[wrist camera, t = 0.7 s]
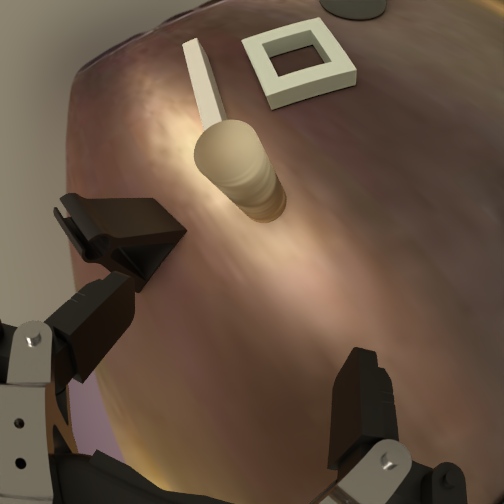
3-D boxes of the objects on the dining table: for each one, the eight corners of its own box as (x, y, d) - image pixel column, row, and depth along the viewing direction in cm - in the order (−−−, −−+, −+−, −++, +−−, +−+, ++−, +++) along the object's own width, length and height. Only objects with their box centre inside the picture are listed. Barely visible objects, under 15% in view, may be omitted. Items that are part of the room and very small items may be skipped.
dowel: (278, 174, 31) (248, 110, 19) (292, 214, 30) (267, 164, 18) (238, 189, 32) (188, 134, 20) (249, 228, 31) (201, 189, 19)
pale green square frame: (321, 32, 32) (319, 17, 29) (355, 84, 30) (356, 69, 27) (247, 54, 34) (241, 40, 31) (271, 110, 32) (266, 96, 29)
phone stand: (154, 198, 34) (85, 160, 23) (187, 230, 32) (118, 198, 21) (110, 258, 35) (33, 242, 23) (138, 293, 33) (59, 288, 21)
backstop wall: (207, 56, 36) (196, 37, 32) (236, 147, 32) (224, 129, 29) (194, 62, 36) (182, 44, 32) (219, 153, 33) (205, 137, 29)
